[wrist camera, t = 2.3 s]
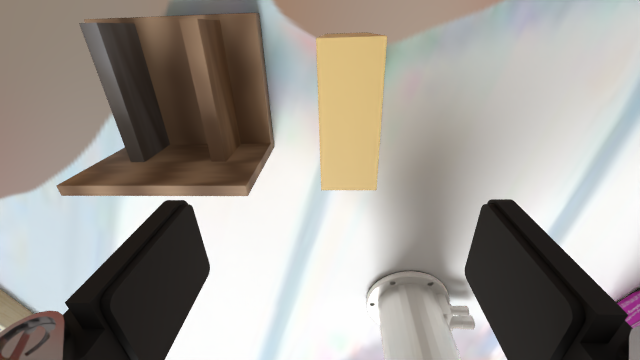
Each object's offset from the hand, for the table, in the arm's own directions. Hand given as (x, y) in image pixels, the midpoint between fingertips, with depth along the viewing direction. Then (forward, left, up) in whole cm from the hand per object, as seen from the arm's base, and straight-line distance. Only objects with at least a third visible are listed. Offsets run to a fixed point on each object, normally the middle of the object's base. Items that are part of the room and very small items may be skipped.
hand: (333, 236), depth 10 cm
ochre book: (-1, -1, -25) cm, 25 cm away
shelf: (+16, -1, -25) cm, 29 cm away
